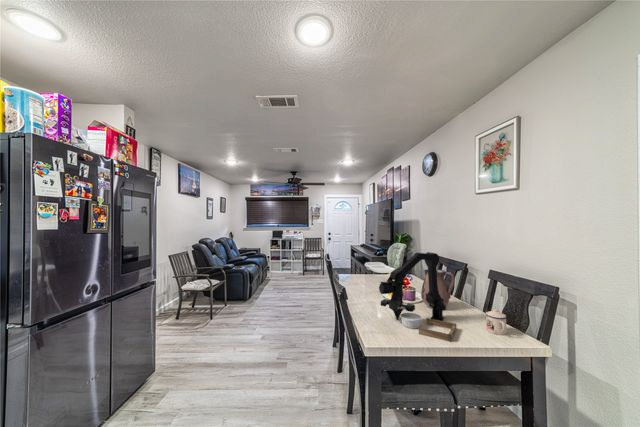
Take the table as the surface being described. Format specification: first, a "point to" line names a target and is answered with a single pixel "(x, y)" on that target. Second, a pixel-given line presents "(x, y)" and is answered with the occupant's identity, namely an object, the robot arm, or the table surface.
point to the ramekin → (411, 320)
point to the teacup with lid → (496, 322)
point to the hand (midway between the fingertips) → (397, 319)
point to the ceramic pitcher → (442, 287)
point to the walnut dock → (439, 334)
